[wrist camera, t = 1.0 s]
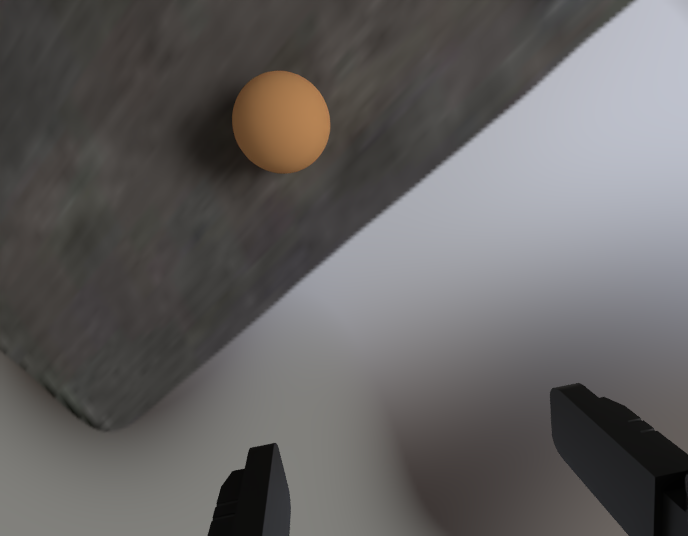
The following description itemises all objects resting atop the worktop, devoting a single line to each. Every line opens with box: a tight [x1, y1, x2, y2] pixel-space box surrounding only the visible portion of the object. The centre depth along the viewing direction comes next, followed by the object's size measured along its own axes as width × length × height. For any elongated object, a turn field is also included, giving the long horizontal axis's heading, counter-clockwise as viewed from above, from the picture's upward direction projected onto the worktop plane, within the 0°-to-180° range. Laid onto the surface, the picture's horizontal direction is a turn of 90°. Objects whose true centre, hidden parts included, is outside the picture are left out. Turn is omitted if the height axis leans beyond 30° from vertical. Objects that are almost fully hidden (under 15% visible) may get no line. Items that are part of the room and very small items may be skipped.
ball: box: [232, 71, 330, 174], centre depth 24 cm, size 6×6×6 cm
